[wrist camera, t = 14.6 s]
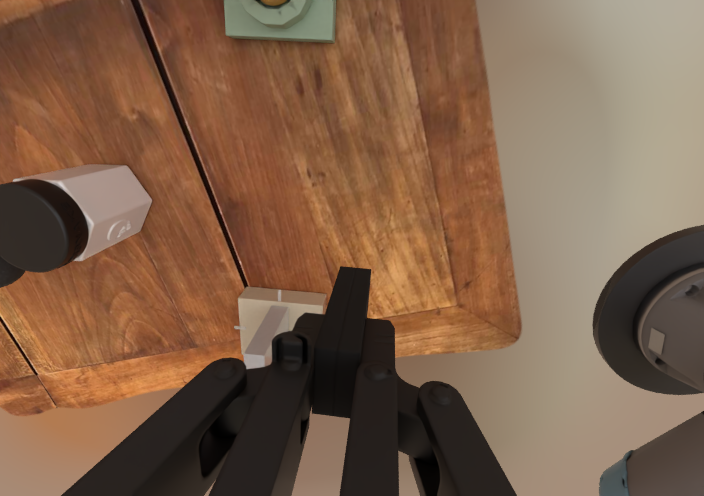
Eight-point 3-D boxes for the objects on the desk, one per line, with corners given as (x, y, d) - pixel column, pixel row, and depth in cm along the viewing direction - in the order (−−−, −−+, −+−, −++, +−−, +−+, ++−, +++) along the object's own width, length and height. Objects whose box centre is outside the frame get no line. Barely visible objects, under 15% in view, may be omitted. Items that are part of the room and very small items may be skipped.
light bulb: (23, 247, 47) (-67, 282, 37) (30, 209, 45) (-64, 237, 35) (65, 267, 47) (-13, 307, 38) (74, 231, 45) (-7, 264, 36)
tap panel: (332, 282, 44) (328, 294, 42) (329, 358, 49) (325, 375, 46) (241, 274, 45) (231, 285, 42) (246, 350, 49) (237, 365, 46)
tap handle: (271, 305, 43) (242, 355, 34) (288, 306, 43) (263, 357, 34) (272, 354, 45) (245, 413, 37) (288, 356, 45) (265, 415, 37)
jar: (137, 246, 45) (55, 292, 34) (74, 211, 44) (-32, 247, 33) (161, 184, 42) (79, 213, 31) (94, 145, 41) (-15, 160, 30)
